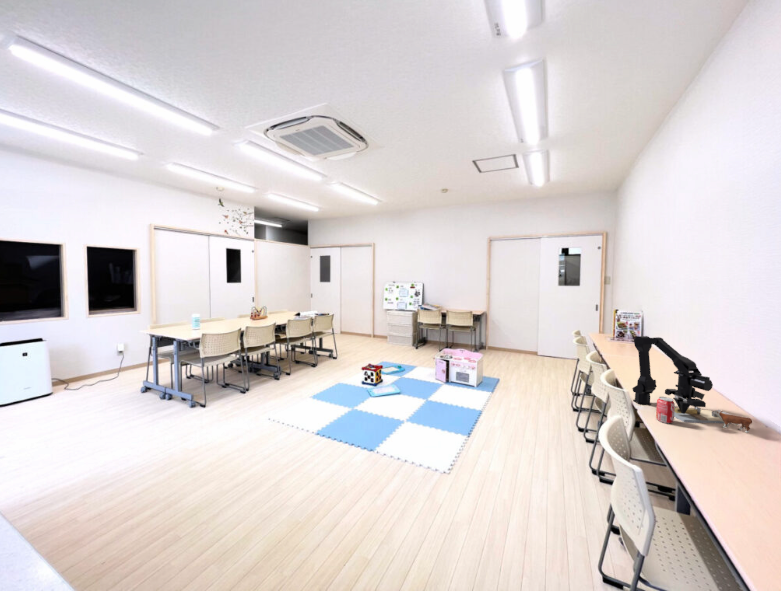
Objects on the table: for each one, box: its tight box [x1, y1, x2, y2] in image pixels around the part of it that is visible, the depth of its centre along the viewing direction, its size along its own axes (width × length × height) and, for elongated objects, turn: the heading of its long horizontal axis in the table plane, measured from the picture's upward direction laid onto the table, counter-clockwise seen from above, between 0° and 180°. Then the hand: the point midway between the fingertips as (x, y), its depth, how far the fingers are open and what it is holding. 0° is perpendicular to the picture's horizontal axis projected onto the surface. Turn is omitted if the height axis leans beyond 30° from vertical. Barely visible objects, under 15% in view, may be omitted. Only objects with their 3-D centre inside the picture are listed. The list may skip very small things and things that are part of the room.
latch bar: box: [674, 407, 702, 414], centre depth 172 cm, size 12×2×3 cm, turn 87°
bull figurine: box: [713, 409, 753, 434], centre depth 160 cm, size 4×13×8 cm, turn 44°
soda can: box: [655, 396, 676, 424], centre depth 167 cm, size 7×7×12 cm
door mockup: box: [674, 409, 732, 425], centre depth 172 cm, size 23×12×4 cm, turn 87°
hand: (683, 413), depth 170 cm, fingers closed
